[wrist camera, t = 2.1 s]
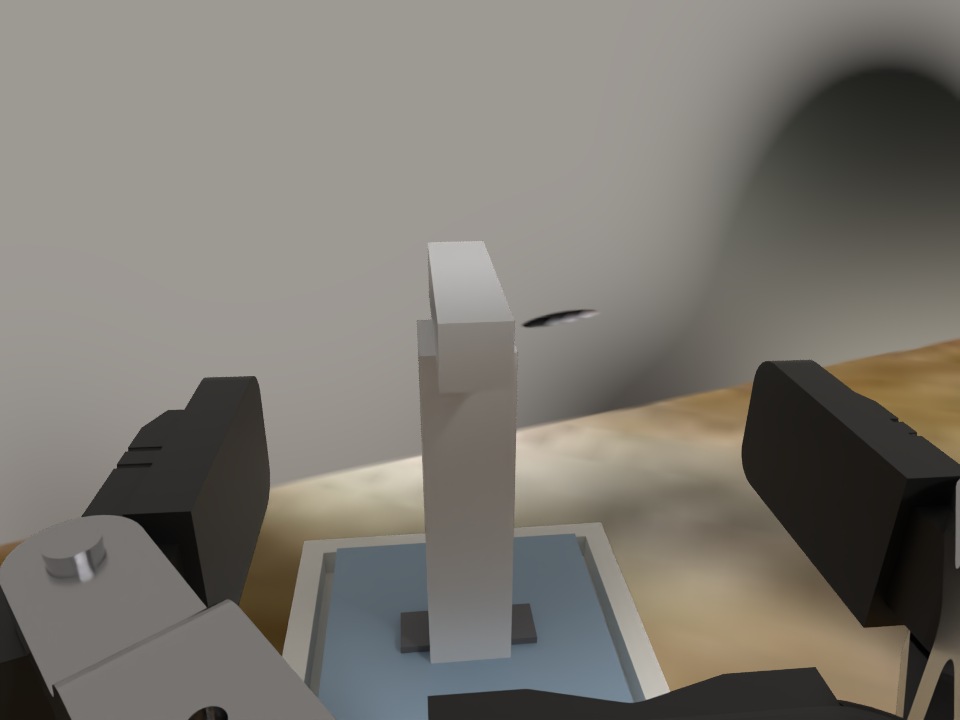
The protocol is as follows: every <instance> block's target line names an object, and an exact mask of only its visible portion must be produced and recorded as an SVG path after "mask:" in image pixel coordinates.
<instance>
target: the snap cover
mask: <svg viewBox="0 0 960 720" xmlns="http://www.w3.org/2000/svg"><path fill="white" fill-rule="evenodd" d="M428 272H429V298H430V308H431V317H432V320H417V333H418V334H417V335H418V359H419V360H418V361H419V387H420V412H421V438H422V464H423V490H424V516H425V541H426V543H416V544H401V545H385V546H369V547H354V548H338V549H337V552H336V560H335V568H334V576H333V584H332V592H331V600H330V608H329V616H328V623H327V631H326V639H325V647H324V655H323V663H322V671H321V679H320V687H319V695H318V699H319V700H320V701H321V702H322V704H323V705H324V706H325V707H326V708H327V709H328V711H329V712H330V713H331V714H332V715H333V716H334V718H335V719H336V720H428V697H427V696H434V695H448V694H461V693H474V692H488V691H501V690H515V689H533V690H540V691H547V692H554V693H561V694H568V695H575V696H582V697H590V698H597V699H604V700H611V701H618V702H627V703H634V702H633V699H632V696H631V694H630V691H629V688H628V685H627V682H626V679H625V676H624V673H623V671H622V668H621V665H620V662H619V659H618V656H617V653H616V650H615V648H614V645H613V642H612V639H611V636H610V633H609V630H608V627H607V625H606V622H605V619H604V616H603V613H602V610H601V607H600V604H599V602H598V599H597V596H596V593H595V590H594V587H593V584H592V581H591V579H590V576H589V573H588V570H587V567H586V564H585V561H584V558H583V556H582V553H581V550H580V547H579V544H578V541H577V538H576V535H575V533H573V534H558V535H542V536H526V537H514V500H515V458H516V416H517V374H518V373H517V371H518V351H517V348H516V345H515V343H514V333H515V320H514V318H513V315H512V313H511V310H510V308H509V305H508V303H507V300H506V298H505V295H504V293H503V290H502V288H501V285H500V283H499V280H498V277H497V275H496V272H495V270H494V267H493V265H492V263H491V260H490V257H489V255H488V252H487V250H486V247H485V245H484V242H483V241H468V242H429V243H428Z"/></svg>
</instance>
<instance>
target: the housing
mask: <svg viewBox="0 0 960 720" xmlns="http://www.w3.org/2000/svg"><path fill="white" fill-rule="evenodd" d="M573 533H575V535H576V538H577V541H578V544H579V547H580V550H581V553H582V556H583V558H584V561H585V564H586V567H587V570H588V573H589V576H590V579H591V581H592V584H593V587H594V590H595V593H596V596H597V599H598V602H599V604H600V607H601V610H602V613H603V616H604V619H605V622H606V625H607V627H608V630H609V633H610V636H611V639H612V642H613V645H614V648H615V650H616V653H617V656H618V659H619V662H620V665H621V668H622V671H623V673H624V676H625V679H626V682H627V685H628V688H629V691H630V694H631V696H632V699H633V702H641V701H645V700H648V699H651V698H654V697H657V696H660V695H663V694H666V693H669V692H670V690H669V687H668V685H667V683H666V680H665V678H664V675H663V673H662V670H661V668H660V665H659V663H658V661H657V658H656V656H655V653H654V651H653V648H652V646H651V644H650V641H649V639H648V636H647V634H646V631H645V629H644V626H643V624H642V622H641V619H640V617H639V614H638V612H637V609H636V607H635V604H634V602H633V600H632V597H631V595H630V592H629V590H628V587H627V585H626V582H625V580H624V578H623V575H622V573H621V570H620V568H619V565H618V563H617V560H616V558H615V556H614V553H613V551H612V548H611V546H610V543H609V541H608V538H607V536H606V534H605V531H604V529H603V526H602V524H601V522H595V523H579V524H563V525H547V526H531V527H515V528H514V537H526V536H542V535H558V534H573ZM416 543H426V541H425V533H419V534H403V535H387V536H371V537H355V538H339V539H323V540H307V541H304V545H303V550H302V555H301V560H300V566H299V571H298V576H297V581H296V586H295V591H294V597H293V602H292V607H291V612H290V617H289V623H288V628H287V633H286V638H285V643H284V649H283V654H282V657H283V658H284V660H285V661H286V662H287V663H288V664H289V665H290V667H291V668H292V669H293V670H294V671H295V672H296V673H297V675H298V676H299V677H300V678H301V679H302V680H303V682H304V683H305V684H306V685H307V686H308V687H309V689H310V690H311V691H312V692H313V693H314V694H315V695H316V697H317V698H318V695H319V687H320V679H321V671H322V663H323V655H324V647H325V639H326V631H327V623H328V616H329V608H330V600H331V592H332V584H333V576H334V568H335V560H336V552H337V549H338V548H354V547H369V546H385V545H401V544H416Z"/></svg>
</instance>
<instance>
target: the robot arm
mask: <svg viewBox="0 0 960 720" xmlns="http://www.w3.org/2000/svg"><path fill="white" fill-rule="evenodd" d="M742 464H743V469H744V472H745V475H746V478H747V480H748V482H749V483H750V485H751V486H752V487H753V489H754V490H755V491H756V492H757V494H758V495H759V496H760V497H761V499H762V500H763V501H764V502H765V504H766V505H767V506H768V508H769V509H770V510H771V511H772V513H773V514H774V515H775V516H776V518H777V519H778V520H779V521H780V523H781V524H782V525H783V526H784V528H785V529H786V530H787V531H788V533H789V534H790V535H791V537H792V538H793V539H794V540H795V542H796V543H797V544H798V545H799V547H800V548H801V549H802V550H803V552H804V553H805V554H806V555H807V557H808V558H809V559H810V560H811V562H812V563H813V564H814V566H815V567H816V568H817V569H818V571H819V572H820V573H821V574H822V576H823V577H824V578H825V579H826V581H827V582H828V583H829V584H830V586H831V587H832V588H833V590H834V591H835V592H836V593H837V595H838V596H839V597H840V598H841V600H842V601H843V602H844V603H845V605H846V606H847V607H848V608H849V610H850V611H851V612H852V613H853V615H854V616H855V617H856V619H857V620H858V621H859V622H860V624H861V625H862V626H863V627H864V628H867V627H881V626H896V625H905V626H906V627H907V628H908V629H909V630H908V633H907V637H906V640H905V643H904V646H903V649H902V653H901V663H900V674H899V684H898V694H897V705H896V715H894V714H891V713H888V712H885V711H882V710H879V709H876V708H873V707H869V706H865V705H861V704H856V703H852V702H848V701H843V700H837V699H836V697H835V696H834V694H833V693H832V691H831V690H830V688H829V687H828V685H827V684H826V682H825V681H824V679H823V678H822V676H821V675H820V673H819V672H818V670H817V669H816V667H811V668H798V669H784V670H771V671H757V672H744V673H730V674H722V675H719V676H716V677H713V678H710V679H707V680H704V681H701V682H698V683H695V684H692V685H689V686H686V687H683V688H680V689H677V690H675V691H672V692H669V693H666V694H663V695H660V696H657V697H654V698H651V699H648V700H645V701H641V702H634V703H627V702H618V701H611V700H604V699H597V698H590V697H582V696H575V695H568V694H561V693H554V692H547V691H540V690H533V689H515V690H501V691H488V692H474V693H461V694H448V695H434V696H427V697H428V720H960V464H958V463H957V462H956V461H954V460H953V459H952V458H950V457H949V456H948V455H946V454H945V453H944V452H942V451H941V450H940V449H938V448H937V447H936V446H934V445H933V444H932V443H930V442H929V441H928V440H926V439H925V438H924V437H922V436H917V432H916V431H914V430H913V429H912V428H910V427H909V426H908V425H906V424H905V423H904V422H899V421H898V418H897V417H896V416H894V415H893V414H892V413H890V412H889V411H888V410H886V409H885V408H884V407H882V406H881V405H880V404H879V403H877V402H876V401H873V400H871V399H869V398H867V397H865V396H862V395H860V394H858V393H856V392H854V391H852V390H851V389H850V388H849V387H847V386H846V385H845V384H843V383H842V382H841V381H839V380H838V379H837V378H836V377H834V376H833V375H832V374H830V373H829V372H828V371H826V370H825V369H824V368H822V367H821V366H820V365H819V364H817V363H816V362H814V361H812V360H793V361H765V362H763V363H762V364H761V365H760V366H759V367H758V369H757V371H756V374H755V378H754V383H753V388H752V394H751V399H750V405H749V410H748V416H747V421H746V427H745V432H744V438H743V443H742ZM269 490H270V469H269V460H268V451H267V443H266V435H265V428H264V419H263V411H262V403H261V395H260V389H259V384H258V381H257V379H256V377H255V376H247V377H246V376H244V377H212V378H204V379H203V380H202V381H201V383H200V385H199V386H198V388H197V389H196V391H195V393H194V394H193V396H192V398H191V400H190V401H189V403H188V405H187V406H186V408H185V410H168V411H166V412H164V413H163V414H162V415H160V416H159V417H157V418H156V419H154V420H153V421H151V422H150V423H148V424H147V425H145V426H144V427H142V428H141V430H140V431H139V433H138V434H137V436H136V437H135V438H134V440H133V441H132V443H131V444H130V446H129V447H128V452H125V453H124V455H123V456H122V458H121V459H120V461H119V462H118V464H117V469H113V471H112V472H111V474H110V475H109V477H108V478H107V480H106V481H105V483H104V484H103V486H102V488H101V489H100V490H99V492H98V493H97V495H96V496H95V498H94V499H93V500H92V502H91V503H90V505H89V506H88V508H87V509H86V511H85V512H84V514H83V515H82V517H81V518H76V519H73V520H68V521H65V522H62V523H59V524H57V525H54V526H51V527H49V528H47V529H44V530H42V531H40V532H38V533H36V534H35V535H33V536H31V537H30V538H28V539H27V540H25V541H23V542H22V543H21V544H20V545H18V546H17V547H16V548H15V549H14V550H13V551H12V552H11V553H10V554H9V555H8V556H7V557H6V559H5V560H4V562H3V563H2V565H1V568H0V720H336V719H335V718H334V716H333V715H332V714H331V713H330V712H329V711H328V709H327V708H326V707H325V706H324V705H323V704H322V702H321V701H320V700H319V699H318V698H317V697H316V695H315V694H314V693H313V692H312V691H311V690H310V689H309V687H308V686H307V685H306V684H305V683H304V682H303V680H302V679H301V678H300V677H299V676H298V675H297V673H296V672H295V671H294V670H293V669H292V668H291V667H290V665H289V664H288V663H287V662H286V661H285V660H284V658H283V657H282V656H281V655H280V654H279V653H278V651H277V650H276V649H275V648H274V647H273V646H272V645H271V643H270V642H269V641H268V640H267V639H266V638H265V636H264V635H263V634H262V633H261V632H260V631H259V629H258V628H257V627H256V626H255V625H254V624H253V623H252V621H251V620H250V619H249V618H248V617H247V616H246V614H245V613H244V612H243V611H242V610H241V609H240V608H239V607H238V605H239V601H240V598H241V595H242V591H243V588H244V584H245V581H246V577H247V574H248V570H249V567H250V564H251V560H252V557H253V553H254V550H255V546H256V543H257V540H258V536H259V533H260V529H261V526H262V522H263V519H264V515H265V512H266V509H267V505H268V500H269Z"/></svg>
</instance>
